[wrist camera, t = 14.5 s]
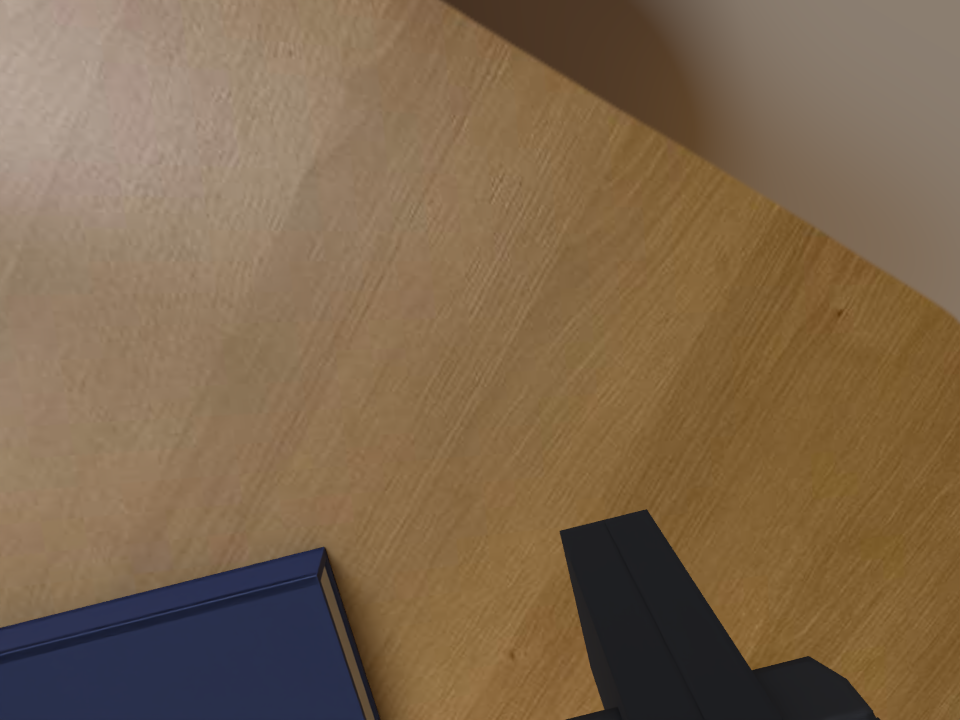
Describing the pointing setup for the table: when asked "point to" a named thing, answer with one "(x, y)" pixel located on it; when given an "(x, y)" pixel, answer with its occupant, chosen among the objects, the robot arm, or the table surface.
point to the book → (195, 652)
